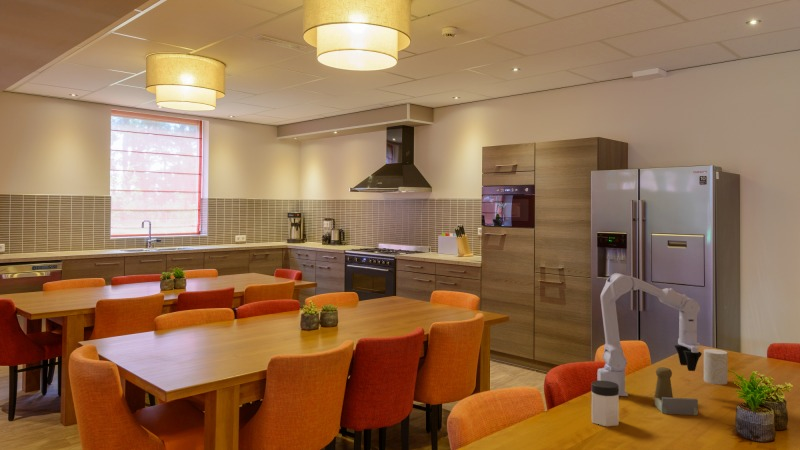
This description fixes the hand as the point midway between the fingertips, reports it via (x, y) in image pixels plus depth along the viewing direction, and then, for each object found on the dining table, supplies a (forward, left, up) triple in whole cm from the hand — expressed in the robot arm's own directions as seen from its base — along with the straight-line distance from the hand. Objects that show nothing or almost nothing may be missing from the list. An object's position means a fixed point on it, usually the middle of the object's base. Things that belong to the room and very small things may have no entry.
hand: (687, 367), depth 199 cm
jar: (-36, -32, -10) cm, 49 cm away
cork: (-10, -5, -10) cm, 15 cm away
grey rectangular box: (-10, -17, -10) cm, 22 cm away
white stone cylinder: (+17, +20, -10) cm, 28 cm away
